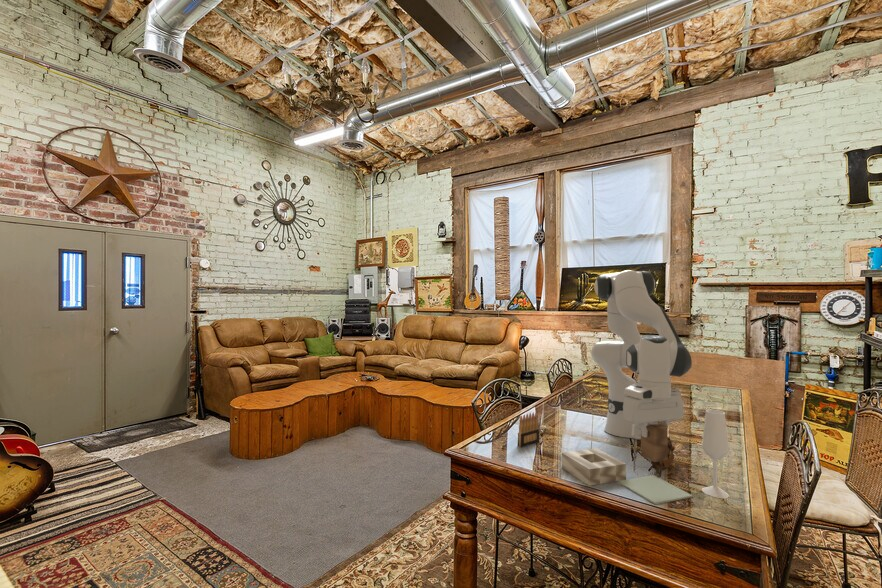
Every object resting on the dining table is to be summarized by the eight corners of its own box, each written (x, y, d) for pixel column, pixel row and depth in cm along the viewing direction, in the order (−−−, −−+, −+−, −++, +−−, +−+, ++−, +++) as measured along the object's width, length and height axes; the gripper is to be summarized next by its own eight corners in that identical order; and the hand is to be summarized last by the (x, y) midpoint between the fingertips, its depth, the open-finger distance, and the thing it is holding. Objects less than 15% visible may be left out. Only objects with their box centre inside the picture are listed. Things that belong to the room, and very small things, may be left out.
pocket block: (595, 462, 141) (595, 448, 141) (625, 479, 128) (626, 463, 128) (561, 467, 137) (561, 452, 137) (589, 485, 124) (589, 469, 124)
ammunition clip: (521, 447, 155) (521, 416, 155) (517, 446, 157) (517, 415, 157) (539, 441, 161) (539, 411, 162) (535, 440, 163) (536, 410, 163)
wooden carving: (664, 476, 131) (664, 445, 131) (649, 472, 134) (649, 442, 134) (677, 461, 143) (677, 433, 143) (662, 458, 146) (663, 430, 146)
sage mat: (653, 476, 130) (653, 475, 130) (692, 497, 117) (692, 495, 117) (618, 482, 126) (618, 481, 126) (654, 504, 113) (655, 502, 113)
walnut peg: (653, 454, 125) (653, 421, 125) (667, 460, 120) (667, 426, 120) (640, 455, 123) (641, 422, 123) (654, 462, 118) (654, 427, 118)
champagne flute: (698, 486, 124) (698, 407, 124) (723, 489, 122) (724, 409, 122) (706, 496, 118) (706, 413, 118) (732, 499, 116) (733, 415, 116)
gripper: (671, 385, 128) (671, 429, 128) (619, 389, 122) (619, 435, 121) (689, 389, 122) (689, 435, 122) (635, 394, 116) (635, 442, 115)
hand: (653, 435), depth 122 cm, fingers closed on walnut peg, 5 cm apart
